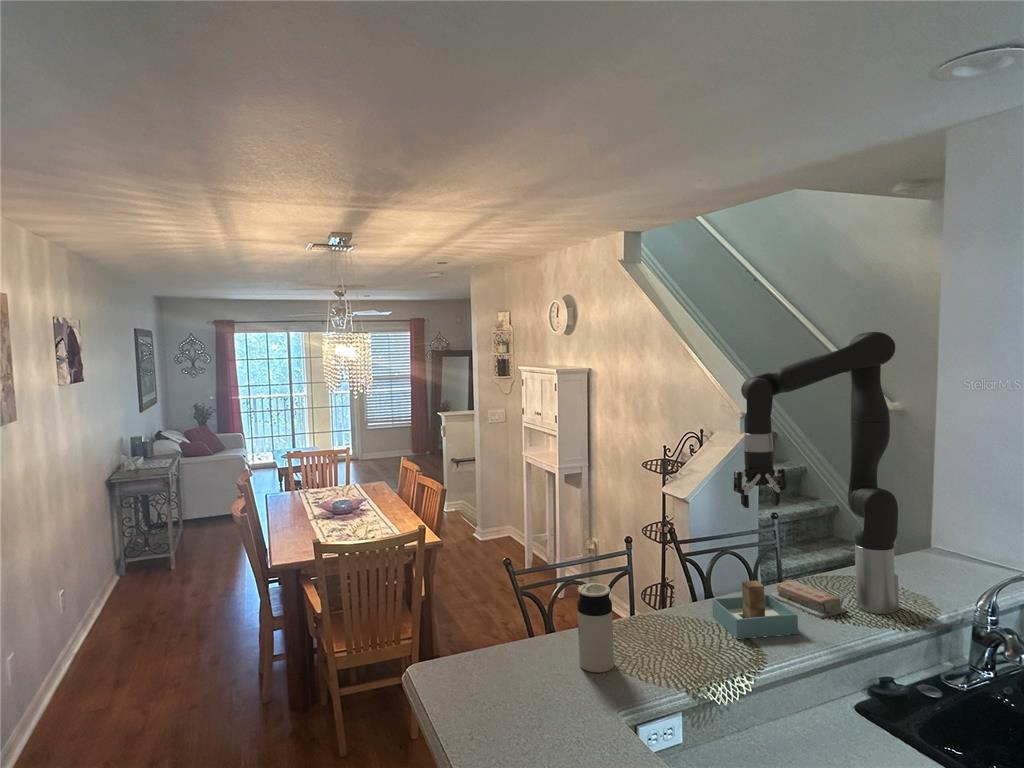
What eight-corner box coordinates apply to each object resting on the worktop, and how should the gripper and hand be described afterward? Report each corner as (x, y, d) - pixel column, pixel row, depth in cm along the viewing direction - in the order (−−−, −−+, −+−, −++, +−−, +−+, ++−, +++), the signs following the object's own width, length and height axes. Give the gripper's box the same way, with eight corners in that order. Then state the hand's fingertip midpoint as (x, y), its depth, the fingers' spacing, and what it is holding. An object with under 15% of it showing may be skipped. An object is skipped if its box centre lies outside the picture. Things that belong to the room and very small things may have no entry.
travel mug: (619, 661, 144) (616, 585, 143) (606, 676, 137) (603, 597, 136) (587, 654, 148) (585, 580, 147) (574, 669, 141) (571, 591, 140)
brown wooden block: (757, 621, 162) (756, 580, 161) (765, 628, 158) (764, 585, 157) (743, 622, 161) (741, 581, 161) (750, 629, 157) (749, 587, 157)
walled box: (769, 612, 167) (768, 594, 167) (798, 634, 153) (797, 614, 153) (712, 616, 166) (712, 598, 166) (737, 639, 152) (736, 620, 152)
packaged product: (847, 595, 166) (820, 602, 162) (847, 613, 166) (821, 620, 162) (793, 575, 182) (767, 581, 178) (793, 591, 182) (768, 597, 178)
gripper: (775, 445, 175) (777, 501, 176) (728, 448, 174) (729, 505, 174) (790, 449, 168) (791, 507, 168) (740, 452, 166) (742, 511, 167)
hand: (760, 506), depth 171 cm, fingers open, 8 cm apart
